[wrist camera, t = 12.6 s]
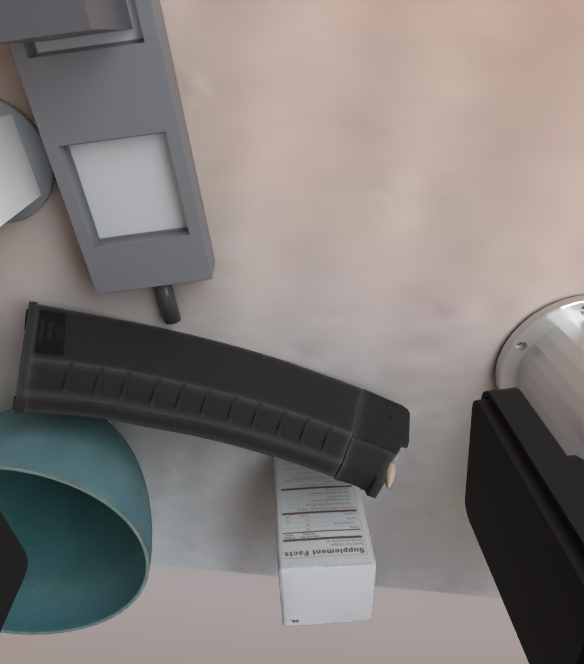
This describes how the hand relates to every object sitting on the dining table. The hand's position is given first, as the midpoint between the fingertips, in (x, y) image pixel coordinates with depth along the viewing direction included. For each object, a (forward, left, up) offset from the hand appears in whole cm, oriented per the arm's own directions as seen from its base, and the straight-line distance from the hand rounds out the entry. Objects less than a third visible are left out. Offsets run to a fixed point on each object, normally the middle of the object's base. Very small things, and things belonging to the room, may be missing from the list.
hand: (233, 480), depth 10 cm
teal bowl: (-22, +20, -28) cm, 41 cm away
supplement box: (-30, -1, -28) cm, 41 cm away
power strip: (+3, +8, -28) cm, 29 cm away
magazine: (-16, +5, -29) cm, 33 cm away
